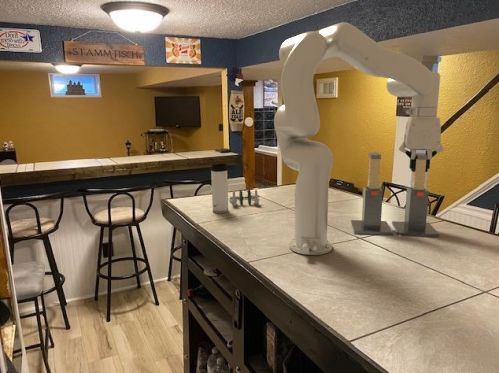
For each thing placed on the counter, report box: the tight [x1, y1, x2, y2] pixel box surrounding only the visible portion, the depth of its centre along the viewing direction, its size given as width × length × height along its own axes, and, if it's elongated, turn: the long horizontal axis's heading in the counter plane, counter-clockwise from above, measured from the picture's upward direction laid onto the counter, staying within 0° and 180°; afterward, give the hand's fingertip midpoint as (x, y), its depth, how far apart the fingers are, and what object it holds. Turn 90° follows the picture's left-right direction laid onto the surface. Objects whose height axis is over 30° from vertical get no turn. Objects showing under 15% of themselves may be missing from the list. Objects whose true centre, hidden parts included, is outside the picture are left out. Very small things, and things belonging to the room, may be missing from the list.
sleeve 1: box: [350, 186, 394, 236], centre depth 128 cm, size 12×12×14 cm
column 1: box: [367, 151, 382, 190], centre depth 126 cm, size 6×3×19 cm, turn 171°
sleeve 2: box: [391, 186, 440, 238], centre depth 126 cm, size 12×12×14 cm
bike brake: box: [228, 188, 260, 207], centre depth 167 cm, size 14×7×20 cm
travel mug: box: [210, 162, 229, 214], centre depth 151 cm, size 6×7×20 cm
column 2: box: [411, 152, 428, 191], centre depth 124 cm, size 6×3×19 cm, turn 171°
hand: (419, 170), depth 123 cm, fingers closed on column 2, 3 cm apart
